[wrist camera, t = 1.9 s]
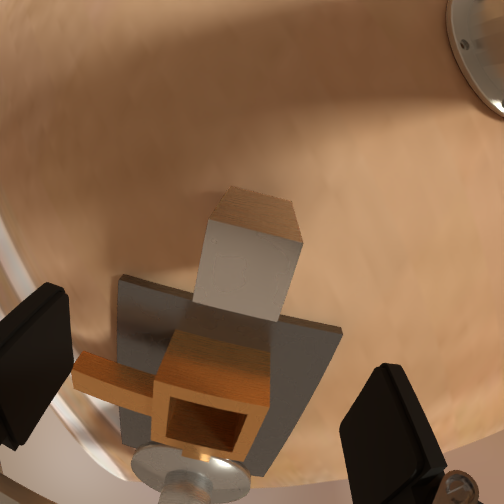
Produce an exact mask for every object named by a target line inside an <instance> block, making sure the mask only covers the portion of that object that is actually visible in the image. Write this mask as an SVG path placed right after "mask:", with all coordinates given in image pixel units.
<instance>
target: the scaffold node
mask: <svg viewBox="0 0 504 504" xmlns="http://www.w3.org/2000/svg"><path fill="white" fill-rule="evenodd" d="M193 295H194V293H190V292H186V291H182V290H178V289H175V288H171V287H167V286H164V285H160V284H156V283H153V282H149V281H146V280H142V279H139V278H135V277H132V276H128V275H125V274H123V275H122V277H121V278H120V279H119V283H118V307H117V363H116V362H113V361H111V360H108V359H105V358H102V357H99V356H97V355H94V354H91V353H89V352H86V351H83V352H82V353H81V354H80V356H79V357H78V359H77V360H76V361H75V363H74V365H73V369H72V371H71V375H72V381H73V386H74V389H76V390H79V391H81V392H83V393H86V394H88V395H91V396H93V397H96V398H99V399H101V400H104V401H107V402H109V403H112V404H115V405H118V406H119V412H120V425H121V436H122V444H124V445H127V446H130V447H133V448H136V450H135V453H134V455H133V458H132V461H131V467H132V470H133V472H134V473H135V475H136V476H137V477H138V478H139V479H140V480H141V481H142V482H144V483H145V484H146V485H148V486H149V487H151V488H153V489H155V490H156V491H158V492H161V495H160V499H159V502H158V504H221V503H228V502H233V501H236V500H239V499H241V498H243V497H244V496H246V495H247V494H248V492H249V490H250V483H251V475H253V476H260V477H264V475H265V474H266V472H267V471H268V469H269V468H270V466H271V465H272V463H273V461H274V460H275V458H276V457H277V455H278V453H279V452H280V450H281V449H282V447H283V445H284V444H285V442H286V440H287V439H288V437H289V435H290V434H291V432H292V430H293V429H294V427H295V425H296V424H297V422H298V420H299V418H300V417H301V415H302V413H303V411H304V410H305V408H306V406H307V404H308V402H309V401H310V399H311V397H312V395H313V393H314V391H315V389H316V388H317V386H318V384H319V382H320V380H321V378H322V376H323V374H324V372H325V370H326V368H327V366H328V365H329V363H330V361H331V359H332V357H333V355H334V352H335V350H336V348H337V346H338V344H339V342H340V340H341V338H342V336H343V332H342V329H341V327H337V326H332V325H327V324H322V323H317V322H312V321H308V320H303V319H298V318H294V317H289V316H285V315H279V318H278V321H277V322H275V321H270V320H266V319H261V318H257V317H253V316H248V315H244V314H240V313H236V312H232V311H228V310H224V309H219V308H215V307H212V306H208V305H204V304H200V303H196V302H192V301H193Z"/></svg>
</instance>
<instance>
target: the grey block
mask: <svg viewBox="0 0 504 504" xmlns="http://www.w3.org/2000/svg"><path fill="white" fill-rule="evenodd" d="M302 246H303V240H302V236H301V232H300V229H299V225H298V222H297V218H296V215H295V211H294V208H293V205H292V201H289V200H285V199H281V198H277V197H273V196H270V195H266V194H262V193H258V192H254V191H250V190H246V189H242V188H238V187H234V186H230V187H229V189H228V190H227V192H226V193H225V195H224V196H223V198H222V199H221V201H220V202H219V204H218V205H217V207H216V208H215V210H214V212H213V213H212V215H211V216H210V218H209V219H208V224H207V229H206V234H205V239H204V243H203V248H202V253H201V258H200V264H199V269H198V274H197V279H196V285H195V290H194V295H193V301H192V302H196V303H200V304H204V305H208V306H212V307H215V308H219V309H224V310H228V311H232V312H236V313H240V314H244V315H248V316H253V317H257V318H261V319H266V320H270V321H275V322H277V321H278V318H279V315H280V312H281V309H282V306H283V304H284V301H285V298H286V295H287V292H288V289H289V286H290V283H291V280H292V277H293V274H294V271H295V268H296V265H297V262H298V259H299V255H300V252H301V249H302Z"/></svg>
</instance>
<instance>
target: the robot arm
mask: <svg viewBox="0 0 504 504" xmlns="http://www.w3.org/2000/svg"><path fill="white" fill-rule="evenodd" d="M446 25H447V32H448V37H449V41H450V45H451V48H452V50H453V53H454V56H455V59H456V61H457V63H458V65H459V67H460V69H461V71H462V73H463V75H464V76H465V78H466V80H467V81H468V83H469V85H470V86H471V88H472V89H473V90H474V91H475V93H476V94H477V95H478V97H479V98H480V99H481V100H482V101H483V102H484V103H485V104H486V105H487V106H488V107H489V108H490V109H492V110H493V111H494V112H496V113H497V114H498V115H500V116H502V117H504V0H449V1H448V3H447V10H446ZM73 365H74V357H73V349H72V339H71V327H70V313H69V297H68V295H67V294H65V290H64V288H62V287H60V286H57V285H54V284H52V283H49V282H46V283H44V284H43V285H41V286H40V287H39V288H38V289H37V290H36V291H34V292H33V293H32V294H31V295H30V296H28V297H27V298H26V299H25V300H24V301H23V302H21V303H20V304H19V305H18V306H17V307H16V308H15V309H14V310H12V311H11V312H10V313H9V314H8V315H7V316H6V317H5V318H3V319H2V320H1V321H0V445H1V444H4V445H5V446H7V447H9V448H10V449H12V450H14V451H16V449H17V448H18V446H19V445H24V444H25V442H26V441H27V440H28V438H29V436H30V435H31V433H32V431H33V430H34V428H35V427H36V425H37V423H38V422H39V420H40V418H41V417H42V415H43V414H44V412H45V410H46V409H47V407H48V406H49V404H50V403H51V401H52V400H53V398H54V397H55V395H56V394H57V392H58V390H59V389H60V387H61V386H62V384H63V383H64V381H65V380H66V378H67V377H68V376H69V374H70V373H71V371H72V369H73ZM339 433H340V438H341V443H342V448H343V453H344V458H345V463H346V468H347V474H348V479H349V484H350V490H351V495H352V501H353V504H483V503H481V502H479V501H478V498H479V490H478V486H477V484H476V482H475V480H474V479H473V478H472V477H471V476H470V475H469V474H467V473H466V472H463V471H460V470H453V471H449V472H448V473H447V474H445V473H444V469H445V468H446V467H447V463H446V461H445V459H444V456H443V454H442V452H441V449H440V447H439V445H438V442H437V440H436V438H435V435H434V433H433V431H432V429H431V426H430V424H429V422H428V420H427V418H426V416H425V413H424V411H423V409H422V407H421V405H420V403H419V401H418V398H417V396H416V394H415V392H414V390H413V388H412V386H411V384H410V382H409V380H408V378H407V376H406V374H405V372H404V370H403V368H402V367H401V365H398V364H389V363H382V364H381V365H380V366H379V367H376V368H375V369H374V370H373V372H372V374H371V376H370V377H369V379H368V381H367V382H366V384H365V386H364V387H363V389H362V391H361V392H360V394H359V396H358V397H357V399H356V400H355V402H354V403H353V405H352V407H351V408H350V410H349V411H348V413H347V414H346V416H345V417H344V419H343V420H342V422H341V424H340V428H339ZM0 504H57V503H55V502H53V501H51V500H49V499H47V498H45V497H43V496H41V495H39V494H37V493H35V492H33V491H31V490H30V489H28V488H26V487H24V486H22V485H21V484H19V483H17V482H15V481H13V480H12V479H10V478H8V477H7V476H5V475H3V471H2V467H1V462H0Z"/></svg>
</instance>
